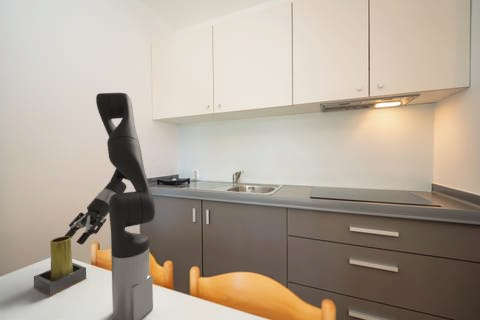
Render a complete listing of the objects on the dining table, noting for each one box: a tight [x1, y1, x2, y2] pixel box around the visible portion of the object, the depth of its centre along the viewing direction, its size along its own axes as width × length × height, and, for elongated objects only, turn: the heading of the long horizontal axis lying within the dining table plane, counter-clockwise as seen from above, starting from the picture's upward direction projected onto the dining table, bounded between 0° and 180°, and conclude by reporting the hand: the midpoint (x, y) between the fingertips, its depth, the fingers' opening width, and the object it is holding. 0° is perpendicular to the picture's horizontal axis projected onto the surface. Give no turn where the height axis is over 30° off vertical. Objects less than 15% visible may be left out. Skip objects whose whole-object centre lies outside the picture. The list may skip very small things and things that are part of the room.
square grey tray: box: [33, 262, 87, 298], centre depth 70 cm, size 10×10×4 cm
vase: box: [50, 235, 73, 282], centre depth 70 cm, size 6×6×14 cm
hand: (72, 241), depth 73 cm, fingers open, 8 cm apart
